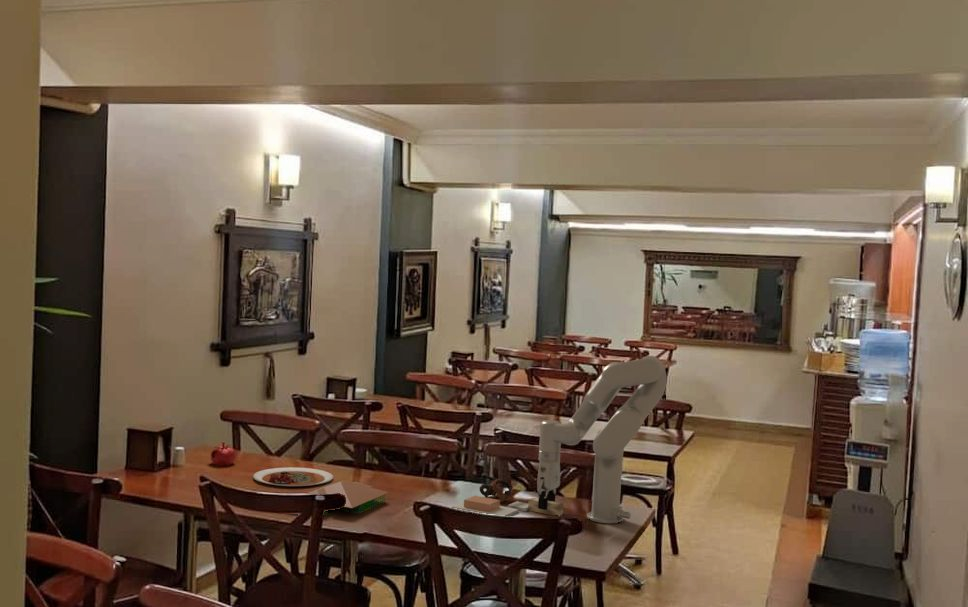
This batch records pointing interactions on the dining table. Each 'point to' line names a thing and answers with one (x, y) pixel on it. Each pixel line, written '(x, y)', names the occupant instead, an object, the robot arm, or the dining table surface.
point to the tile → (481, 503)
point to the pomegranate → (223, 455)
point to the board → (498, 511)
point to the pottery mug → (496, 489)
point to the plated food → (291, 476)
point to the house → (353, 493)
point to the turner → (532, 505)
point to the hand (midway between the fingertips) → (546, 506)
